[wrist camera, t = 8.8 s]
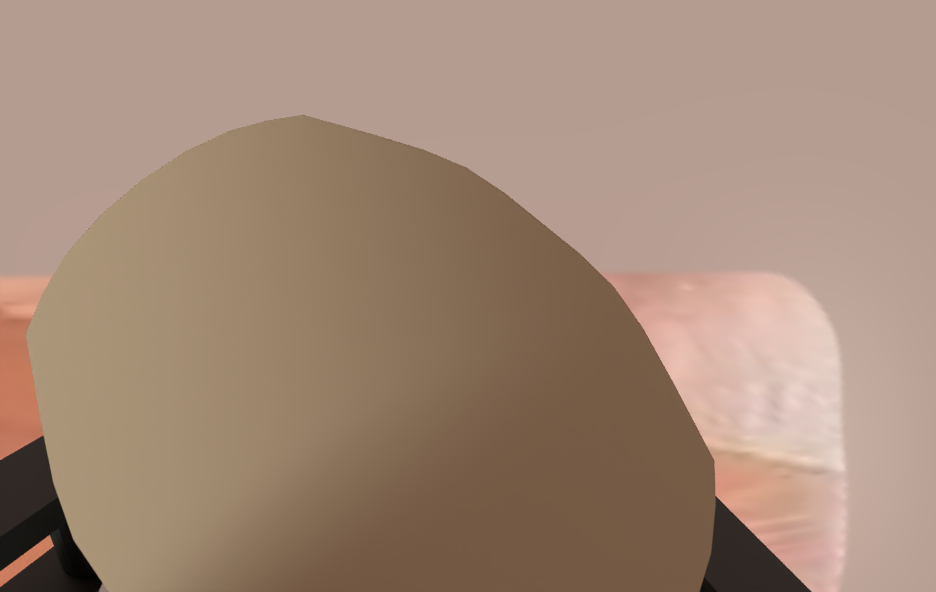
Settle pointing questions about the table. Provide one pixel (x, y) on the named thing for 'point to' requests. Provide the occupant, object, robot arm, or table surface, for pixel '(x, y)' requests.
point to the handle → (356, 386)
